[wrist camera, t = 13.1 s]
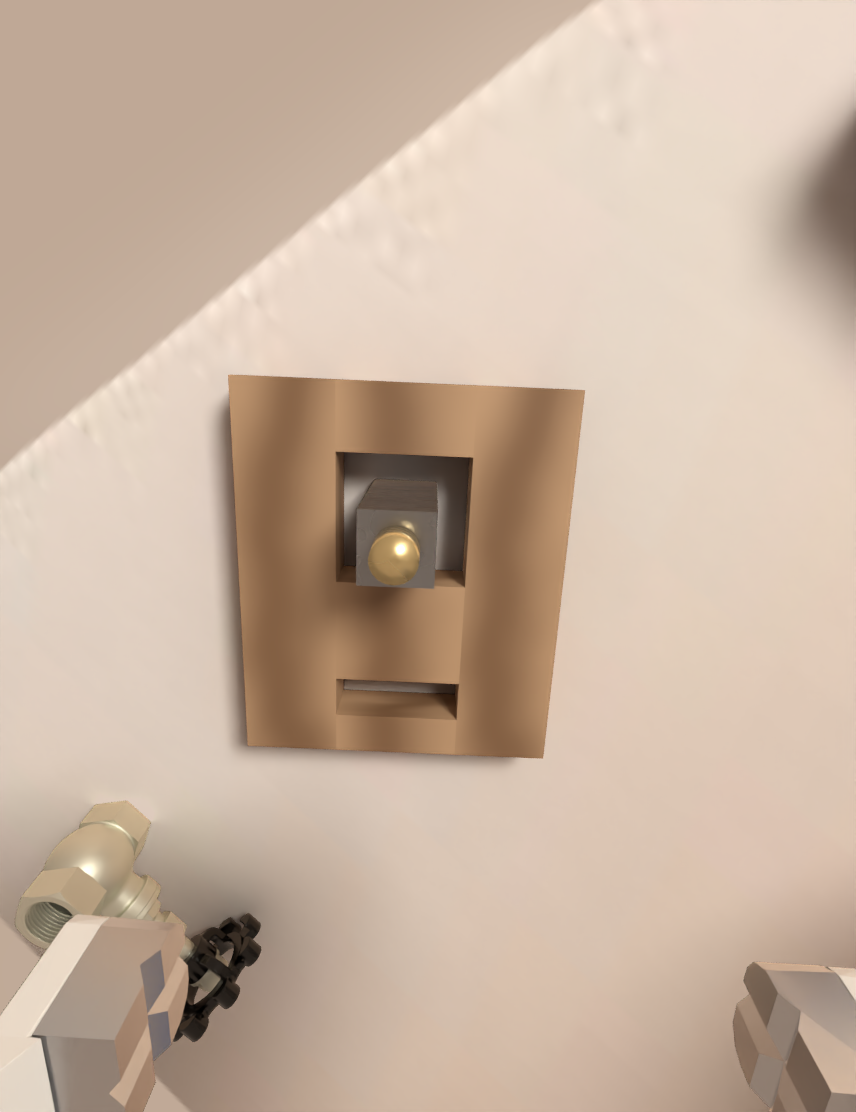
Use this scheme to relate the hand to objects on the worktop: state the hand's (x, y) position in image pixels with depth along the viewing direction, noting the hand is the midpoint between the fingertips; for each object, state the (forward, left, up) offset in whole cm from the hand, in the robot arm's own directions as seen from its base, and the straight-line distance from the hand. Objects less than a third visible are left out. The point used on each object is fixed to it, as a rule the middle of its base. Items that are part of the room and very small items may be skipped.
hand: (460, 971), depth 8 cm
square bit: (+2, -2, -22) cm, 22 cm away
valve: (+16, +21, -22) cm, 34 cm away
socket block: (+2, +1, -22) cm, 22 cm away
